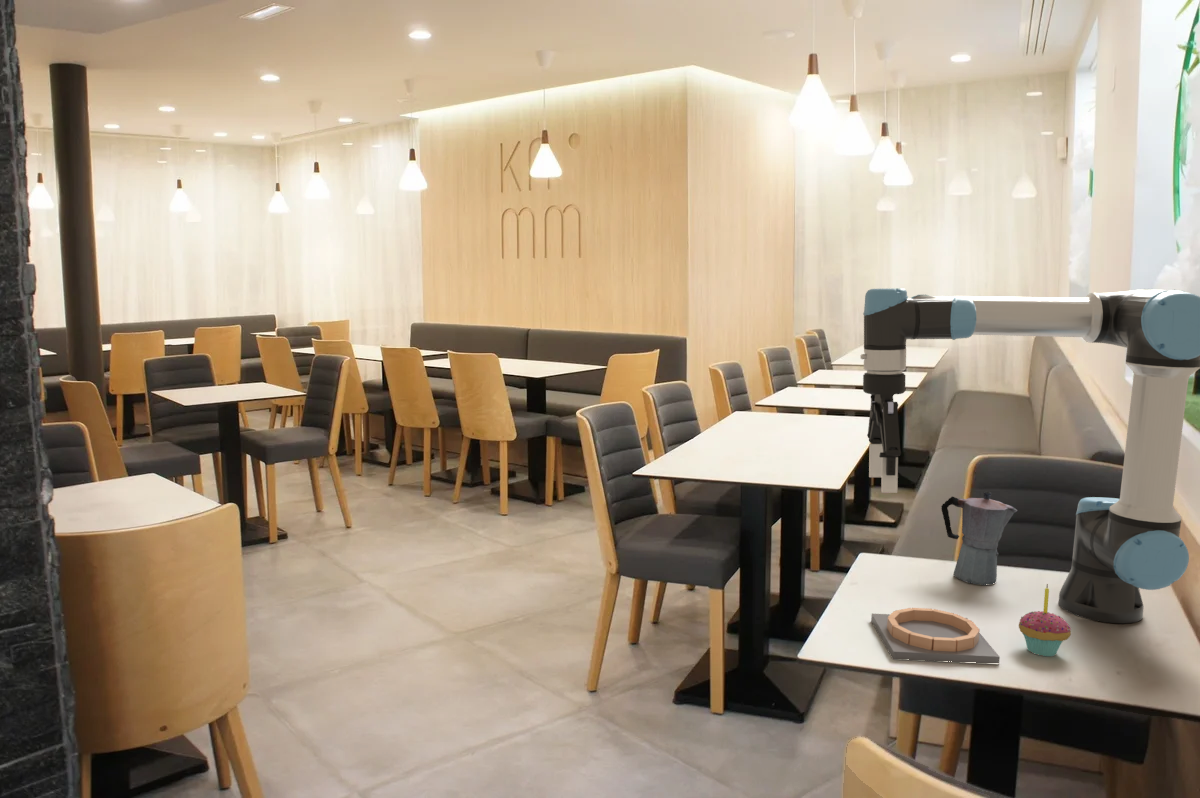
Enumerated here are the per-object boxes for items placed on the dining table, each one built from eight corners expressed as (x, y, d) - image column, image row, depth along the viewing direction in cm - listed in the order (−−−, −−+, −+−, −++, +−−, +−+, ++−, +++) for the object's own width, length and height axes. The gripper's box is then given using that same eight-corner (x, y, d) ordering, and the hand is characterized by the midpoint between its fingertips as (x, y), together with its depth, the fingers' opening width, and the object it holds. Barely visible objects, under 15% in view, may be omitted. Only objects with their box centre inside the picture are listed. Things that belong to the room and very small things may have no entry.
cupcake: (1014, 639, 175) (1020, 577, 173) (1064, 645, 173) (1071, 582, 171) (1019, 657, 167) (1025, 592, 165) (1072, 664, 165) (1079, 598, 163)
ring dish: (966, 625, 181) (967, 608, 181) (998, 664, 164) (1000, 645, 163) (871, 620, 183) (872, 603, 182) (893, 659, 165) (894, 640, 164)
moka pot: (1015, 589, 202) (1023, 498, 199) (939, 583, 205) (946, 493, 202) (1005, 575, 211) (1013, 488, 209) (933, 569, 214) (940, 483, 212)
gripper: (853, 366, 188) (852, 471, 191) (874, 379, 163) (873, 499, 166) (892, 365, 187) (890, 471, 190) (919, 378, 162) (917, 499, 165)
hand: (882, 484), depth 178 cm, fingers open, 13 cm apart
